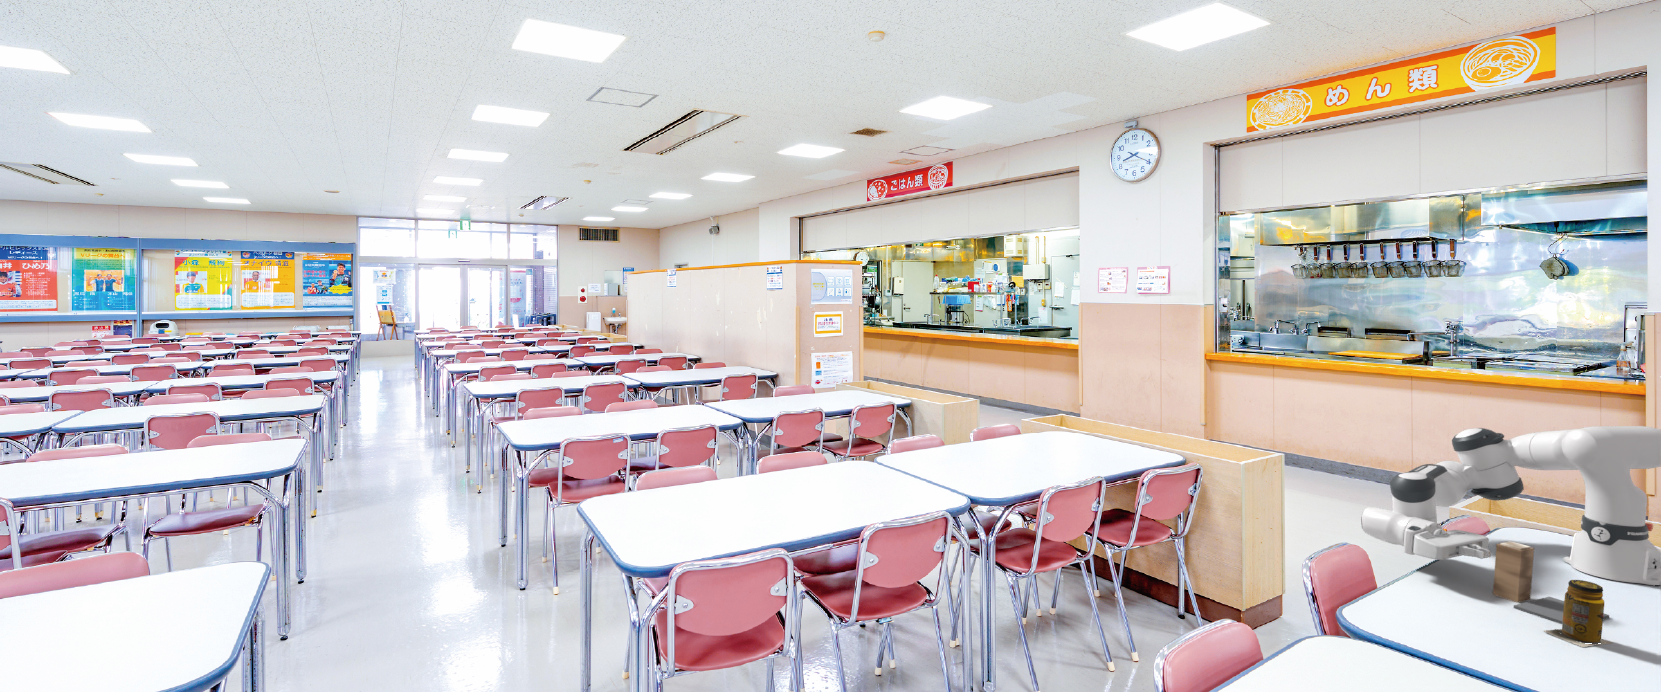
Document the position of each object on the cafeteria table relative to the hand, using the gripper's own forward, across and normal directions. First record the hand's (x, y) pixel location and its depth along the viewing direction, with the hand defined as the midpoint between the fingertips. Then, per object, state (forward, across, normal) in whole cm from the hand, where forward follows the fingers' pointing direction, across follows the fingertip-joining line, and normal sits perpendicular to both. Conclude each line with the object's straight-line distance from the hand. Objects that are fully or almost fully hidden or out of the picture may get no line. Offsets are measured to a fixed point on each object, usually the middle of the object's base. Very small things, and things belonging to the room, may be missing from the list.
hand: (1487, 555), depth 187 cm
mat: (+15, -1, -9) cm, 17 cm away
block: (+5, -1, -9) cm, 10 cm away
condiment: (+23, +11, -9) cm, 27 cm away
